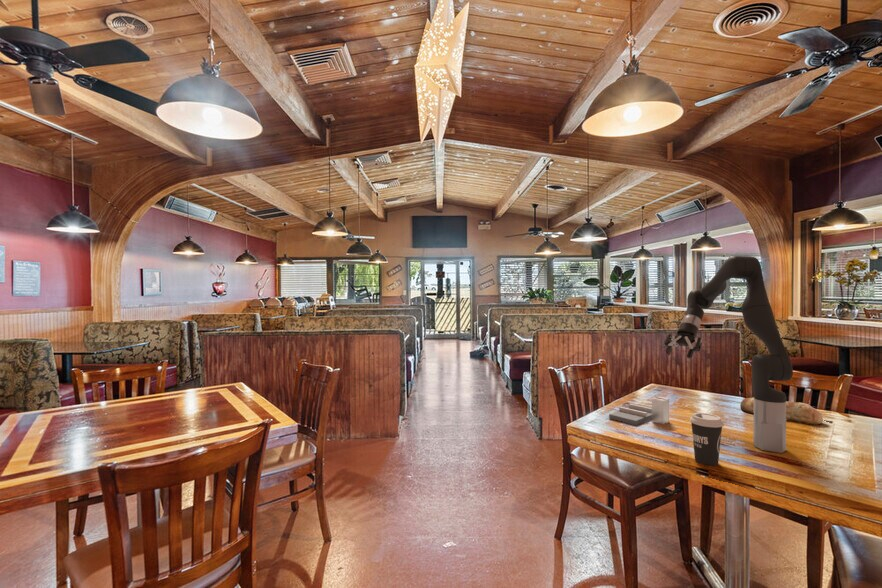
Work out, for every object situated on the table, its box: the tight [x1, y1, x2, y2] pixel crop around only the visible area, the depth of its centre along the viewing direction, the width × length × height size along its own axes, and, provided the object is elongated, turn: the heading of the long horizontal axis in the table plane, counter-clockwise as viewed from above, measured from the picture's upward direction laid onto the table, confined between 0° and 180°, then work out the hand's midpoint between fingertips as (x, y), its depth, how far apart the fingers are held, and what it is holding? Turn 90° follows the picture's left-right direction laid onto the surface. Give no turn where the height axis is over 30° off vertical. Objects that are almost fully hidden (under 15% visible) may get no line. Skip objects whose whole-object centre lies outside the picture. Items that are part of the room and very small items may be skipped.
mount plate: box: [608, 403, 652, 426], centre depth 189 cm, size 12×26×4 cm, turn 128°
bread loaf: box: [740, 396, 834, 425], centre depth 187 cm, size 35×18×9 cm, turn 48°
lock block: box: [651, 396, 670, 425], centre depth 181 cm, size 5×5×10 cm
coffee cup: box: [689, 412, 725, 467], centre depth 139 cm, size 10×10×15 cm
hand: (677, 355), depth 187 cm, fingers open, 8 cm apart
